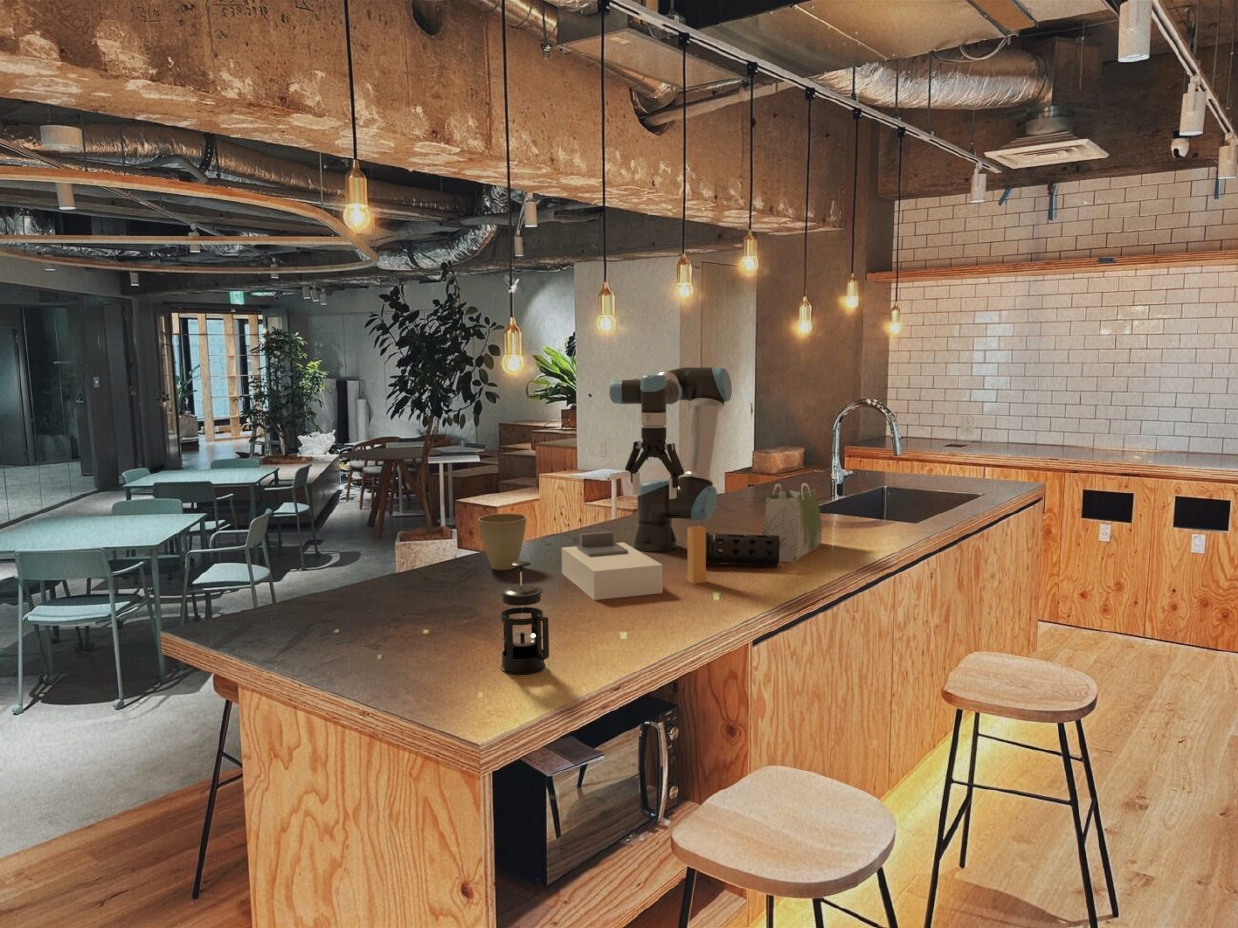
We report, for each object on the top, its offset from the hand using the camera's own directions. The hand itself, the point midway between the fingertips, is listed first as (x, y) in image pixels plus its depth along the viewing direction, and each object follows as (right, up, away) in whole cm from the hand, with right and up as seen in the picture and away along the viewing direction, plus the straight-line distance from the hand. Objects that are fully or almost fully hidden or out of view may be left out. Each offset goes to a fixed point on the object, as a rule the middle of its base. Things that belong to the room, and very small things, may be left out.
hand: (654, 496), depth 273 cm
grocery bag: (+47, -20, +30) cm, 59 cm away
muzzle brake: (+25, -22, +10) cm, 35 cm away
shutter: (-16, -16, -5) cm, 23 cm away
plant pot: (-47, -23, +10) cm, 53 cm away
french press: (-31, -34, -80) cm, 93 cm away
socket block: (-13, -25, -10) cm, 30 cm away
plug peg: (+12, -25, -10) cm, 29 cm away
